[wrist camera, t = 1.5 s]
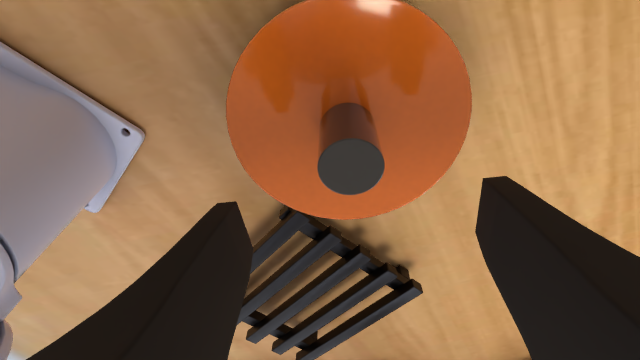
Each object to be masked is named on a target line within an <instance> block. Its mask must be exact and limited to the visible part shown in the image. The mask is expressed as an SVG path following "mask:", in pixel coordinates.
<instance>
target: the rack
mask: <svg viewBox="0 0 640 360" xmlns="http://www.w3.org/2000/svg"><path fill="white" fill-rule="evenodd" d="M279 219H281V221H280V222H279V223H278V224H277V225H276V226H275V227H274V228H273V229H272V230H271V231H269V232H268V233H267V234H266V235H265V236H264V237H263V238H262V239H261V240H260V241H259V242H258V243H257V244H256V245H255V246H254V247H253V257H252V265H251V271H250V274H251V273H252V272H253V271H254V270H255V269H256V268H257V267H258V266H260V265H261V264H262V263H263V262H264V261H265V260H266V259H267V258H268V257H270V256H271V255H272V254H273V253H274V252H275V251H276V250H277V249H278V248H280V247H281V246H282V245H283V244H284V243H285V242H286V241H287V240H288V239H290V238H291V237H292V236H293V235H294V234H295V233H296V232H297V231H298V230H299V231H300V232H302V233H304V234H305V235H307V236H308V237H310V238H312V239H313V240H312V241H311V242H310V243H309V244H308V245H306V246H305V247H304V248H303V249H302V250H301V251H299V252H298V253H297V254H296V255H295V256H294V257H292V258H291V259H290V260H289V261H288V262H287V263H285V264H284V265H283V266H282V267H281V268H280V269H278V270H277V271H276V272H275V273H274V274H273V275H271V276H270V277H269V278H268V279H267V280H266V281H264V282H263V283H262V284H261V285H260V286H259V287H257V288H256V289H255V290H254V291H253V292H251V293H250V294H249V295H248V296H247V297H246V298H244V300H243V304H242V308H241V311H240V315H239V318H238V322H237V325H238V324H239V323H240V322H241V321H243V322H245V323H247V324H249V325H251V326H253V327H252V328H251V329H249V330H248V331H247V336H246V340H248V341H250V342H253V343H255V344H256V343H257V342H259V341H260V340H261V339H263V338H264V337H266V336H267V335H268V334H270V335H272V336H275V337H277V338H279V339H277V340H276V341H274V342H273V345H272V351H273V352H275V353H278V354H280V355H281V354H283V353H284V352H286V351H287V350H289V349H290V348H292V347H293V346H296V347H298V348H300V349H302V350H301V351H299V352H298V353H296V360H314V359H316V358H318V357H319V356H321V355H322V354H324V353H326V352H327V351H329V350H331V349H332V348H334V347H336V346H337V345H339V344H340V343H342V342H344V341H345V340H347V339H349V338H350V337H352V336H354V335H355V334H357V333H358V332H360V331H362V330H363V329H365V328H367V327H368V326H370V325H371V324H373V323H375V322H376V321H378V320H380V319H381V318H383V317H385V316H386V315H388V314H389V313H391V312H393V311H394V310H396V309H398V308H399V307H401V306H402V305H404V304H406V303H407V302H409V301H411V300H412V299H414V298H416V297H417V296H419V295H420V294H422V293H423V291H422V287H421V284H420V283H418V282H417V281H415V280H414V279H410V277H409V273H408V270H407V269H405V268H404V267H402V266H401V265H398V266H397V267H394V266H392V265H391V264H389V263H387V262H386V263H385V264H384V263H382V262H381V261H379V260H378V259H376V258H375V257H373V256H372V255H371V254H370V250H368V249H367V248H365V247H364V246H362V245H360V244H359V245H358V246H356V245H355V244H353V243H352V242H350V241H349V240H347V239H346V238H344V237H342V235H341V232H340V231H339V230H337V229H336V228H334V227H333V226H331V225H330V226H329V227H327V226H326V225H324V224H323V223H321V222H319V221H318V220H316V219H315V218H313V217H312V216H310V215H309V214H306V213H303V212H300V211H297V210H295V209H293V208H290V207H288V206H286V205H284V207H283V208H282V209H281V210H280V215H279ZM329 250H331V251H332V252H334V253H336V254H337V255H339V256H341V257H342V258H341V259H340V260H338V261H337V262H336V263H335V264H333V265H332V266H331V267H329V268H328V269H327V270H326V271H324V272H323V273H322V274H320V275H319V276H318V277H316V278H315V279H314V280H313V281H311V282H310V283H309V284H307V285H306V286H305V287H304V288H302V289H301V290H300V291H298V292H297V293H296V294H295V295H293V296H292V297H291V298H289V299H288V300H287V301H286V302H284V303H283V304H282V305H280V306H279V307H278V308H276V309H275V310H274V311H273V312H271V313H270V314H269V315H267V316H266V315H264V314H262V313H260V312H258V311H256V309H257V308H259V307H260V306H261V305H262V304H264V303H265V302H266V301H267V300H269V299H270V298H271V297H272V296H274V295H275V294H276V293H277V292H278V291H280V290H281V289H282V288H283V287H285V286H286V285H287V284H288V283H290V282H291V281H292V280H293V279H295V278H296V277H297V276H298V275H299V274H301V273H302V272H303V271H304V270H306V269H307V268H308V267H309V266H311V265H312V264H313V263H314V262H316V261H317V260H318V259H319V258H321V257H322V256H323V255H324V254H325V253H327V252H328V251H329ZM359 268H360V269H361V270H363V271H365V272H366V273H368V274H369V275H368V276H366V277H365V278H364V279H362V280H361V281H359V282H358V283H357V284H355V285H354V286H352V287H351V288H349V289H348V290H347V291H345V292H344V293H342V294H341V295H340V296H338V297H337V298H335V299H334V300H332V301H331V302H330V303H328V304H327V305H325V306H324V307H323V308H321V309H320V310H318V311H317V312H315V313H314V314H313V315H311V316H310V317H308V318H307V319H306V320H304V321H303V322H301V323H300V324H298V325H297V326H296V327H294V328H291V327H289V326H287V325H285V324H283V323H285V322H286V321H287V320H289V319H290V318H292V317H293V316H294V315H296V314H297V313H298V312H300V311H301V310H303V309H304V308H305V307H307V306H308V305H309V304H311V303H312V302H313V301H315V300H316V299H318V298H319V297H320V296H322V295H323V294H324V293H326V292H327V291H329V290H330V289H331V288H333V287H334V286H335V285H337V284H338V283H339V282H341V281H342V280H344V279H345V278H346V277H348V276H349V275H350V274H352V273H353V272H355V271H356V270H357V269H359ZM385 285H387V286H389V287H390V288H392V289H394V290H393V291H392V292H390V293H389V294H387V295H386V296H384V297H382V298H381V299H379V300H378V301H376V302H375V303H373V304H372V305H370V306H369V307H367V308H365V309H364V310H362V311H361V312H359V313H358V314H356V315H355V316H353V317H352V318H350V319H349V320H347V321H345V322H344V323H342V324H341V325H339V326H338V327H336V328H335V329H333V330H332V331H330V332H328V333H327V334H325V335H324V336H322V337H321V338H319V339H318V340H317V334H318V331H317V330H319V329H320V328H322V327H323V326H325V325H326V324H328V323H329V322H331V321H332V320H334V319H335V318H337V317H338V316H340V315H341V314H343V313H344V312H346V311H347V310H349V309H350V308H352V307H353V306H355V305H356V304H358V303H359V302H361V301H362V300H364V299H365V298H367V297H368V296H370V295H371V294H373V293H374V292H376V291H377V290H379V289H380V288H382V287H383V286H385Z"/></svg>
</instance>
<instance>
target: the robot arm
mask: <svg viewBox="0 0 640 360" xmlns="http://www.w3.org/2000/svg"><path fill="white" fill-rule="evenodd" d="M124 128H125V129H128V130H129V132H130V133H127V132H126V131H125V130H124ZM144 139H145V134H144V133H143V131H142V130H141V129H139V128H138V127H136V126H134V125H133V124H131V123H130V122H128V121H126V120H125V119H123V118H122V117H120V116H118V115H117V114H115V113H114V112H112V111H110V110H109V109H107V108H106V107H104V106H102V105H101V104H99V103H98V102H96V101H94V100H93V99H91V98H90V97H88V96H86V95H85V94H83V93H82V92H80V91H78V90H77V89H75V88H74V87H72V86H70V85H69V84H67V83H66V82H64V81H62V80H61V79H59V78H58V77H56V76H54V75H53V74H51V73H50V72H48V71H46V70H45V69H43V68H42V67H40V66H38V65H37V64H35V63H34V62H32V61H30V60H29V59H27V58H26V57H24V56H22V55H21V54H19V53H18V52H16V51H14V50H13V49H11V48H10V47H8V46H6V45H5V44H3V43H2V42H0V360H7V357H8V355H9V353H10V350H11V346H12V342H13V332H12V330H11V327H10V325H9V324H8V323H7V322H6V321H5V320H4V319H5V318H6V316H7V315H8V314H9V313H10V312H11V311H12V309H13V308H14V307H15V306H16V305H17V304H18V302H19V301H20V300H21V299H22V296H21V295H20V293H19V292H18V291H17V290H16V288H15V286H14V283H15V282H16V281H17V280H18V279H19V278H20V277H21V275H22V274H23V273H24V272H25V271H26V270H27V269H28V268H29V267H30V266H31V265H32V264H33V262H34V261H35V260H36V259H37V258H38V257H39V256H40V255H41V254H42V253H43V252H44V251H45V249H46V248H47V247H48V246H49V245H50V244H51V243H52V242H53V241H54V240H55V239H56V238H57V236H58V235H59V234H60V233H61V232H62V231H63V230H64V229H65V228H66V227H67V226H68V224H69V223H70V222H71V221H72V220H73V219H74V218H75V217H76V216H77V215H78V214H79V213H80V211H81V210H82V209H83V208H84V209H86V210H88V211H90V212H94V213H96V212H99V211H100V210H101V208H102V207H103V205H104V204H105V202H106V200H107V199H108V197H109V196H110V194H111V192H112V191H113V189H114V188H115V186H116V184H117V183H118V181H119V180H120V178H121V176H122V175H123V173H124V171H125V170H126V168H127V167H128V165H129V163H130V162H131V160H132V159H133V157H134V155H135V154H136V152H137V151H138V149H139V147H140V146H141V144H142V143H143V141H144ZM475 232H476V236H477V239H478V242H479V245H480V248H481V251H482V254H483V257H484V259H485V262H486V265H487V267H488V269H489V271H490V273H491V275H492V277H493V279H494V281H495V283H496V285H497V287H498V289H499V291H500V293H501V295H502V297H503V299H504V301H505V303H506V305H507V307H508V309H509V311H510V313H511V315H512V317H513V319H514V321H515V323H516V325H517V327H518V329H519V331H520V333H521V335H522V338H523V340H524V342H525V344H526V346H527V349H528V351H529V353H530V356H531V358H532V360H640V257H638V256H636V255H634V254H632V253H631V252H629V251H627V250H625V249H623V248H621V247H620V246H618V245H616V244H614V243H612V242H611V241H609V240H607V239H605V238H604V237H602V236H600V235H598V234H597V233H595V232H593V231H592V230H590V229H588V228H587V227H585V226H583V225H582V224H580V223H578V222H577V221H575V220H573V219H572V218H570V217H569V216H567V215H565V214H564V213H562V212H561V211H559V210H558V209H556V208H555V207H553V206H551V205H550V204H548V203H547V202H545V201H544V200H542V199H541V198H539V197H538V196H536V195H535V194H533V193H532V192H530V191H529V190H527V189H526V188H524V187H523V186H521V185H520V184H518V183H516V182H515V181H513V180H512V179H510V178H508V177H507V176H502V177H491V178H483V182H482V189H481V196H480V203H479V210H478V217H477V224H476V231H475ZM252 257H253V246H252V244H251V241H250V238H249V235H248V233H247V230H246V227H245V224H244V221H243V219H242V216H241V213H240V210H239V208H238V205H237V202H226V203H217V204H216V205H215V206H214V207H213V208H212V209H211V210H209V211H208V212H207V213H206V214H205V215H204V216H203V217H202V218H201V219H200V220H199V221H198V222H197V223H196V224H195V225H194V226H193V227H192V229H191V230H190V231H189V232H188V233H186V234H185V235H184V236H183V237H182V238H181V239H180V240H179V241H178V242H177V243H176V244H175V245H174V246H173V247H172V248H171V249H170V250H169V251H168V252H167V253H166V254H165V255H164V256H163V257H162V258H161V259H159V260H158V261H157V262H156V263H155V264H154V265H153V266H152V267H151V268H150V269H149V270H147V271H146V272H145V273H144V274H143V275H142V276H141V277H140V278H139V279H137V280H136V281H135V282H134V283H133V284H132V285H130V286H129V287H128V288H127V289H126V290H124V291H123V292H122V293H121V294H119V295H118V296H117V297H115V298H114V299H113V300H112V301H110V302H109V303H108V304H107V305H105V306H104V307H103V308H101V309H100V310H99V311H97V312H96V313H95V314H93V315H92V316H90V317H89V318H87V319H86V320H85V321H83V322H82V323H80V324H79V325H78V326H76V327H75V328H73V329H72V330H70V331H69V332H68V333H66V334H65V335H63V336H62V337H60V338H59V339H58V340H56V341H55V342H53V343H51V344H50V345H48V346H47V347H45V348H44V349H42V350H41V351H39V352H37V353H36V354H34V355H33V356H31V357H30V358H28V359H26V360H227V359H228V354H229V350H230V346H231V343H232V339H233V336H234V332H235V329H236V325H237V322H238V318H239V315H240V311H241V308H242V304H243V300H244V297H245V293H246V290H247V286H248V282H249V278H250V271H251V265H252Z"/></svg>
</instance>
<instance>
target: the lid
mask: <svg viewBox="0 0 640 360" xmlns="http://www.w3.org/2000/svg"><path fill="white" fill-rule="evenodd" d="M471 110H472V93H471V86H470V80H469V76H468V73H467V69H466V66H465V63H464V61H463V59H462V57H461V55H460V53H459V51H458V49H457V47H456V46H455V44H454V43H453V41H452V40H451V39H450V37H449V36H448V34H447V33H446V32H445V31H444V30H443V29H442V28H441V27H440V26H439V25H438V24H437V23H436V22H435V21H434V20H432V19H431V18H430V17H428V16H427V15H426V14H424V13H423V12H422V11H420V10H419V9H417V8H415V7H413V6H412V5H410V4H408V3H406V2H404V1H402V0H304V1H301V2H299V3H297V4H294V5H292V6H291V7H289V8H287V9H286V10H284V11H282V12H281V13H279V14H278V15H276V16H275V17H274V18H273V19H271V20H270V21H269V22H268V23H267V24H265V25H264V26H263V27H262V28H261V29H260V30H259V32H258V33H257V34H256V35H255V36H254V37H253V38H252V39H251V41H250V42H249V44H248V45H247V47H246V48H245V50H244V51H243V53H242V54H241V56H240V58H239V60H238V62H237V64H236V66H235V68H234V70H233V73H232V77H231V80H230V83H229V87H228V93H227V100H226V119H227V126H228V132H229V136H230V139H231V143H232V146H233V148H234V150H235V153H236V155H237V157H238V159H239V161H240V162H241V164H242V166H243V167H244V169H245V170H246V172H247V173H248V174H249V176H250V177H251V178H252V179H253V181H254V182H256V183H257V184H258V185H259V186H260V187H261V188H262V189H263V190H264V191H265V192H266V193H268V194H269V195H270V196H271V197H273V198H274V199H276V200H278V201H279V202H281V203H282V204H284V205H286V206H288V207H290V208H293V209H295V210H297V211H300V212H303V213H306V214H309V215H313V216H317V217H322V218H329V219H346V220H347V219H361V218H367V217H373V216H377V215H380V214H384V213H387V212H390V211H392V210H395V209H398V208H400V207H402V206H404V205H406V204H408V203H410V202H412V201H413V200H415V199H416V198H418V197H419V196H421V195H422V194H424V193H425V192H426V191H427V190H429V189H430V188H431V187H432V186H433V185H434V184H435V183H436V182H437V181H438V180H439V179H440V178H441V177H442V176H443V175H444V174H445V173H446V171H447V170H448V169H449V168H450V166H451V165H452V163H453V162H454V160H455V158H456V157H457V155H458V154H459V152H460V149H461V147H462V145H463V143H464V140H465V138H466V134H467V131H468V127H469V123H470V117H471Z"/></svg>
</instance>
